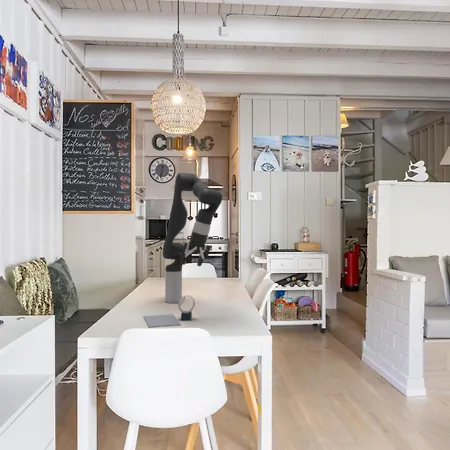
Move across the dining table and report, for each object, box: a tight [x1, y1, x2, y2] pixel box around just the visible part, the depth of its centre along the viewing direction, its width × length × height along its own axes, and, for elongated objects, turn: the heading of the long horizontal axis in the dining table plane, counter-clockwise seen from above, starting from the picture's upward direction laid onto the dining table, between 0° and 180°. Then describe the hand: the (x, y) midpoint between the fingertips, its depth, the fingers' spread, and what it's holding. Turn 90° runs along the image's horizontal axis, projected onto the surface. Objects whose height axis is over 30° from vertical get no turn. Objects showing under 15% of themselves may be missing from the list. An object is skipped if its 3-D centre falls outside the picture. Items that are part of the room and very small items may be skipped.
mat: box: [142, 313, 182, 329], centre depth 187 cm, size 20×14×1 cm
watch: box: [177, 294, 196, 322], centre depth 190 cm, size 6×8×11 cm
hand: (190, 265), depth 190 cm, fingers open, 8 cm apart
